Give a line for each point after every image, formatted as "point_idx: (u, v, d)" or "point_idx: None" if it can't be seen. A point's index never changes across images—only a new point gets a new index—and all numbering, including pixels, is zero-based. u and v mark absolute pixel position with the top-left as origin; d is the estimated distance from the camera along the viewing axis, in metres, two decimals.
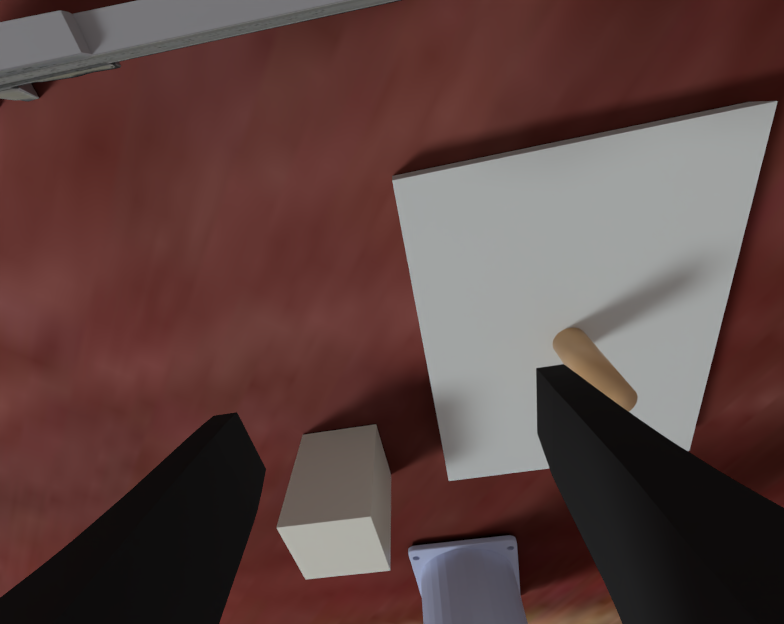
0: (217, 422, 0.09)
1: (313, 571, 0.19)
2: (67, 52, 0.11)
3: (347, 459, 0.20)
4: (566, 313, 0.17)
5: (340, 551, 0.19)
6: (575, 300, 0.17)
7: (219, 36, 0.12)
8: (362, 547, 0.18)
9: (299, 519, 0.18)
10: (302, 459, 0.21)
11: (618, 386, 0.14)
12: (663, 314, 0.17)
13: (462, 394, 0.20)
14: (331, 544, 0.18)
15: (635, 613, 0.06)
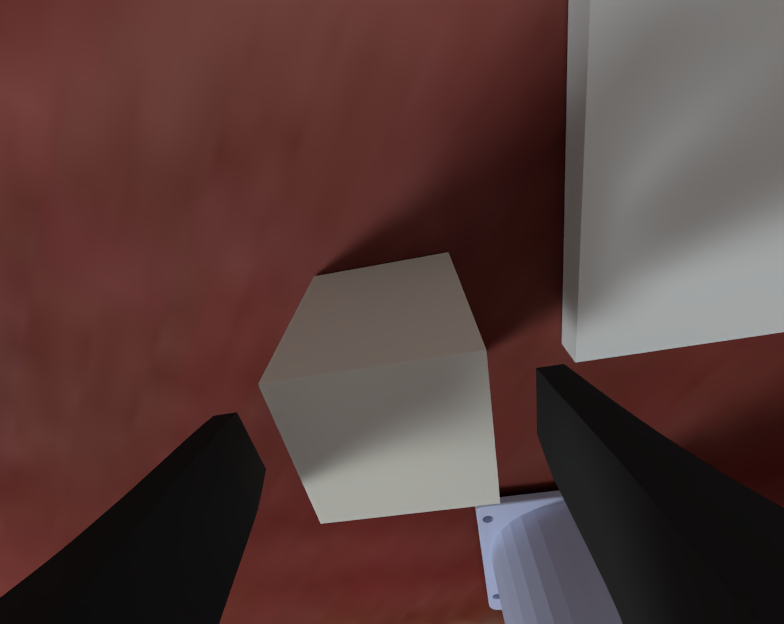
0: (217, 422, 0.09)
1: (338, 504, 0.09)
2: None
3: (404, 288, 0.10)
4: None
5: (400, 453, 0.08)
6: None
7: None
8: (450, 442, 0.08)
9: (311, 368, 0.08)
10: (314, 298, 0.11)
11: None
12: None
13: (647, 142, 0.10)
14: (381, 433, 0.08)
15: (635, 613, 0.06)
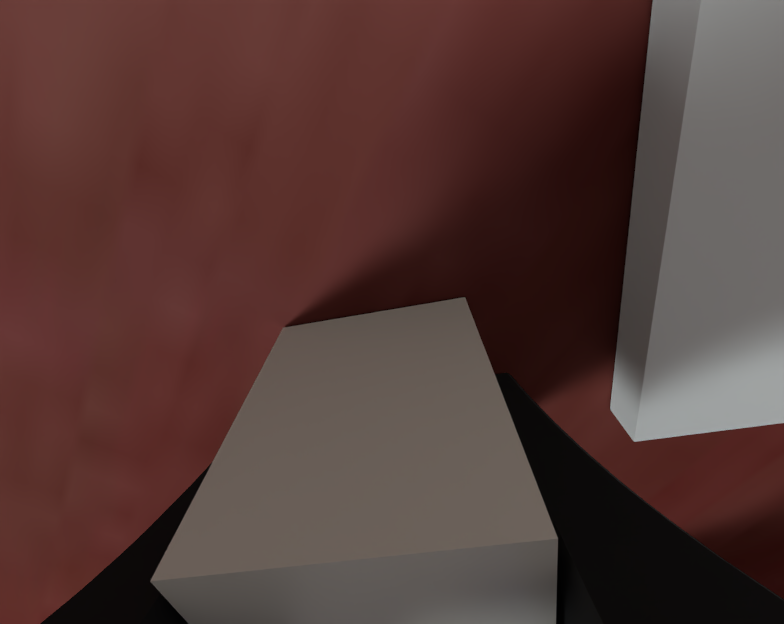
0: None
1: None
2: None
3: (406, 363, 0.07)
4: None
5: None
6: None
7: None
8: None
9: (246, 546, 0.04)
10: (277, 371, 0.08)
11: None
12: None
13: (773, 149, 0.06)
14: None
15: None
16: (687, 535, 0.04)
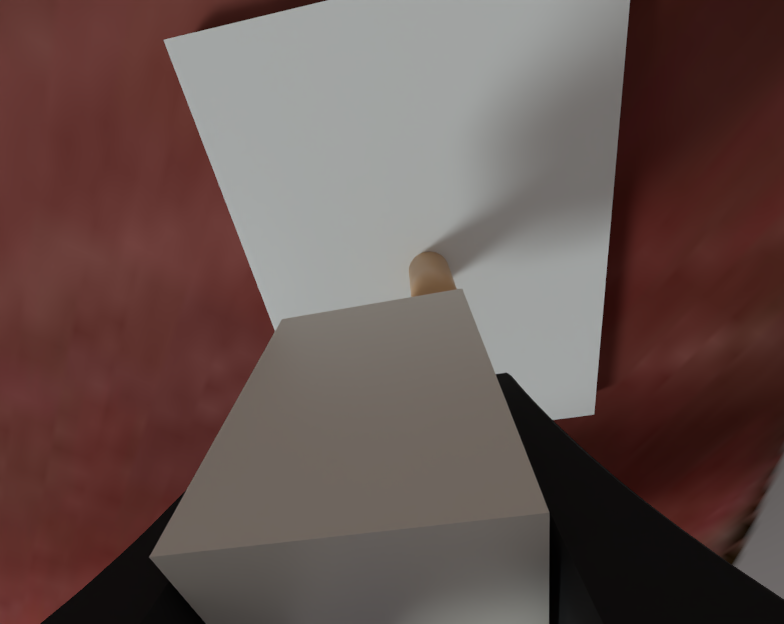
0: None
1: None
2: None
3: (402, 351, 0.07)
4: (418, 231, 0.14)
5: None
6: (426, 214, 0.14)
7: None
8: None
9: (244, 523, 0.05)
10: (276, 359, 0.08)
11: None
12: (535, 234, 0.14)
13: None
14: (365, 615, 0.05)
15: (552, 620, 0.06)
16: (686, 535, 0.04)
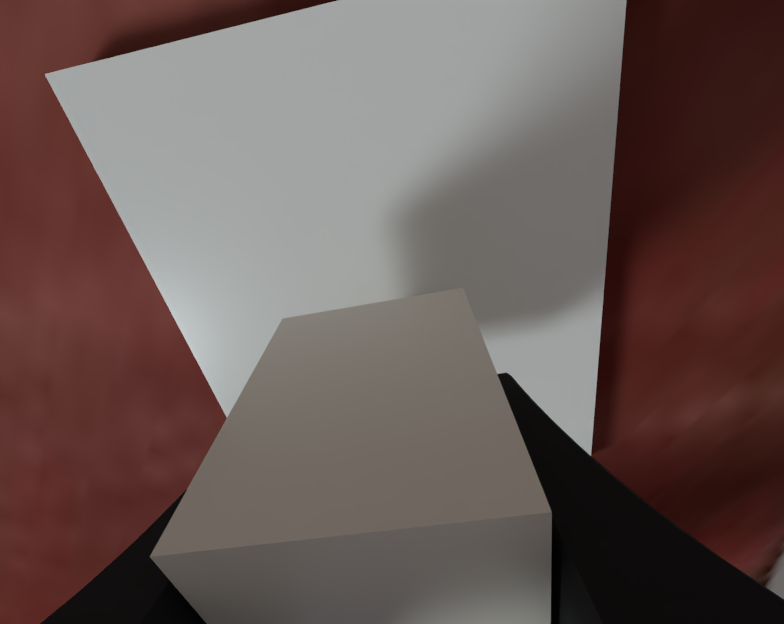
0: None
1: None
2: None
3: (404, 351, 0.07)
4: (376, 292, 0.12)
5: None
6: (384, 273, 0.12)
7: None
8: None
9: (245, 523, 0.04)
10: (276, 359, 0.08)
11: None
12: (515, 294, 0.12)
13: None
14: (366, 615, 0.05)
15: (552, 620, 0.06)
16: (686, 535, 0.04)
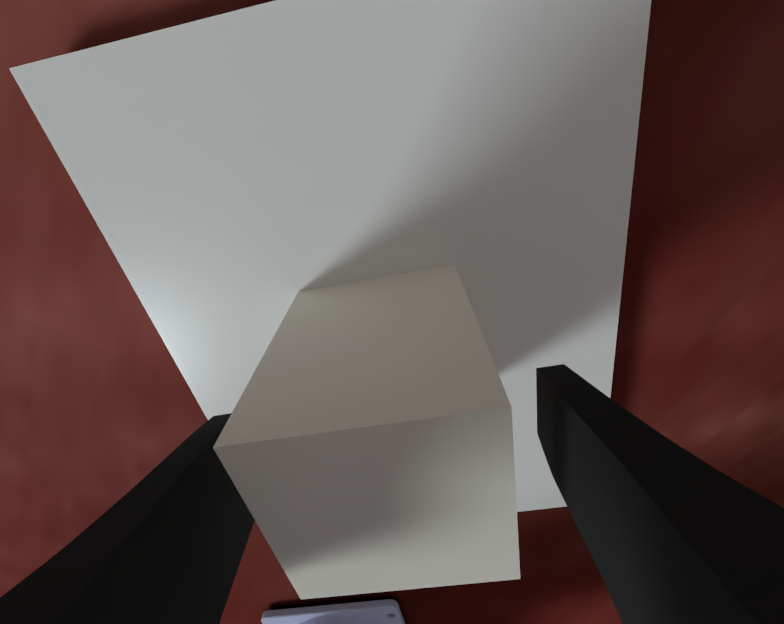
0: (217, 421, 0.09)
1: (321, 579, 0.08)
2: None
3: (403, 312, 0.09)
4: None
5: (398, 525, 0.07)
6: None
7: None
8: (461, 513, 0.07)
9: (283, 425, 0.06)
10: (296, 321, 0.09)
11: None
12: (524, 307, 0.11)
13: None
14: (374, 503, 0.06)
15: (635, 613, 0.06)
16: None
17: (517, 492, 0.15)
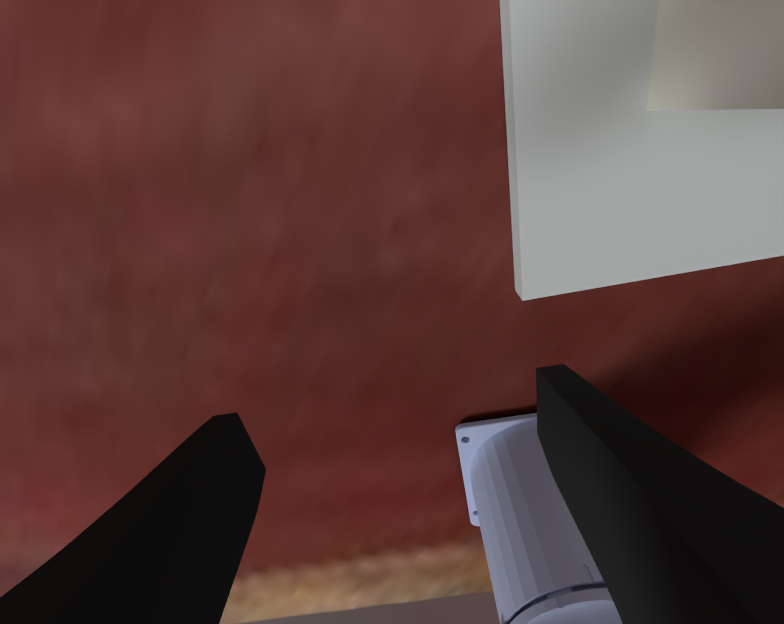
0: (216, 422, 0.09)
1: None
2: None
3: None
4: None
5: None
6: None
7: None
8: None
9: None
10: None
11: None
12: None
13: (558, 135, 0.14)
14: None
15: (635, 613, 0.06)
16: None
17: (783, 228, 0.15)
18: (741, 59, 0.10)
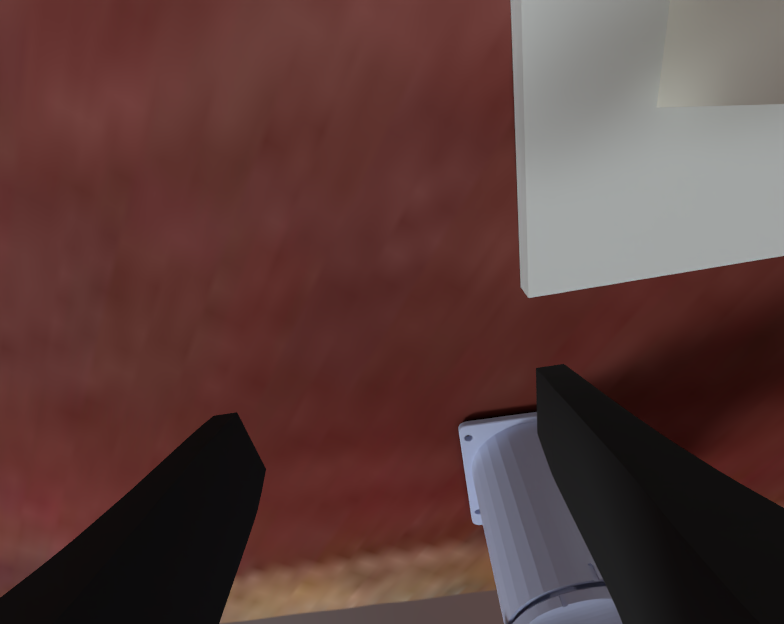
0: (217, 422, 0.09)
1: None
2: None
3: None
4: None
5: None
6: None
7: None
8: None
9: None
10: None
11: None
12: None
13: (567, 131, 0.14)
14: None
15: (635, 613, 0.06)
16: None
17: None
18: (756, 54, 0.10)
